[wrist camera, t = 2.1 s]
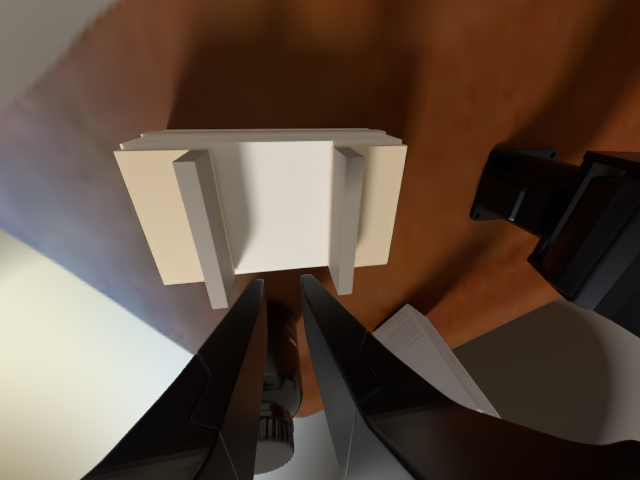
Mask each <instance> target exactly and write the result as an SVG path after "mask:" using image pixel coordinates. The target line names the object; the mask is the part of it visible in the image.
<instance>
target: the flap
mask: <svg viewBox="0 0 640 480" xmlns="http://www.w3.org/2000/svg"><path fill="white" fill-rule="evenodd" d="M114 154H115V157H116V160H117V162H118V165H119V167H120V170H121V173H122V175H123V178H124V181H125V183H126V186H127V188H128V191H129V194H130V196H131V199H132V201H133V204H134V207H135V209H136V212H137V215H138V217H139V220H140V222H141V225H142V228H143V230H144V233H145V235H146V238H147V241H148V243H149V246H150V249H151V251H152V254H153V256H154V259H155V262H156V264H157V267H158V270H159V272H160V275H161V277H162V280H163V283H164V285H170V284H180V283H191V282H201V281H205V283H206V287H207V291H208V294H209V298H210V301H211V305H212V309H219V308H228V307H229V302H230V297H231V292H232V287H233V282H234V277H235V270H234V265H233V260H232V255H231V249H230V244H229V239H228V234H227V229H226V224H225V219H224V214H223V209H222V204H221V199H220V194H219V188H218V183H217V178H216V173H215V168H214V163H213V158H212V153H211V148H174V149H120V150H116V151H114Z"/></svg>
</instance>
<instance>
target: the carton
mask: <svg viewBox="0 0 640 480" xmlns="http://www.w3.org/2000/svg"><path fill="white" fill-rule="evenodd" d="M393 144H402V140H401V139H398V138H395V137H392V136H389V135H386V132H385V131H382V130H370V129H367V128H326V129H194V130H164V131H154V132H146V133H143V134H141V138H138V139H135V140H132V141H128V142H125V143H122V144H120V146H121V149H174V148H211V153H212V158H213V163H214V168H215V173H216V178H217V183H218V188H219V194H220V199H221V204H222V209H223V214H224V219H225V224H226V229H227V234H228V239H229V244H230V249H231V255H232V260H233V265H234V270H235V274H243V273H254V272H264V271H275V270H286V269H297V268H308V267H318V266H328V242H329V209H330V177H331V146H339V145H393Z"/></svg>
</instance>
